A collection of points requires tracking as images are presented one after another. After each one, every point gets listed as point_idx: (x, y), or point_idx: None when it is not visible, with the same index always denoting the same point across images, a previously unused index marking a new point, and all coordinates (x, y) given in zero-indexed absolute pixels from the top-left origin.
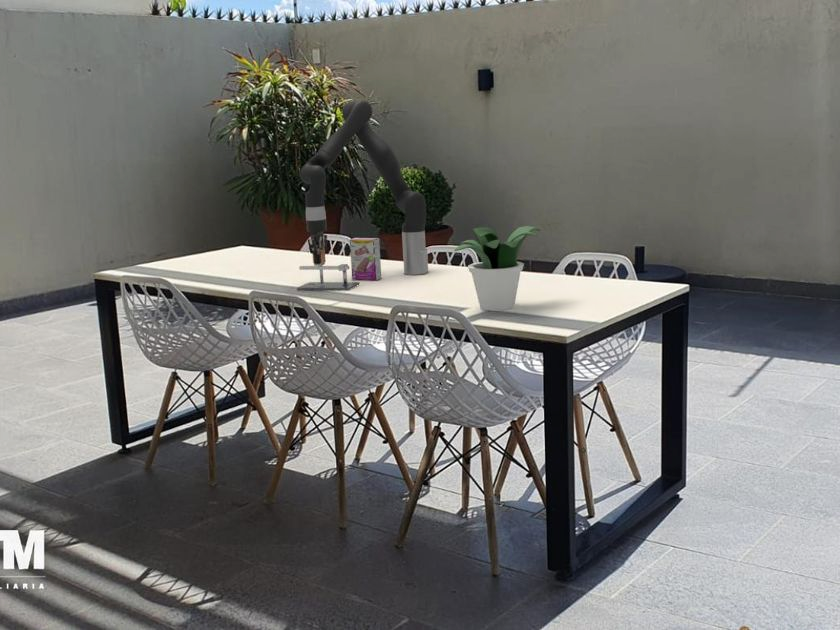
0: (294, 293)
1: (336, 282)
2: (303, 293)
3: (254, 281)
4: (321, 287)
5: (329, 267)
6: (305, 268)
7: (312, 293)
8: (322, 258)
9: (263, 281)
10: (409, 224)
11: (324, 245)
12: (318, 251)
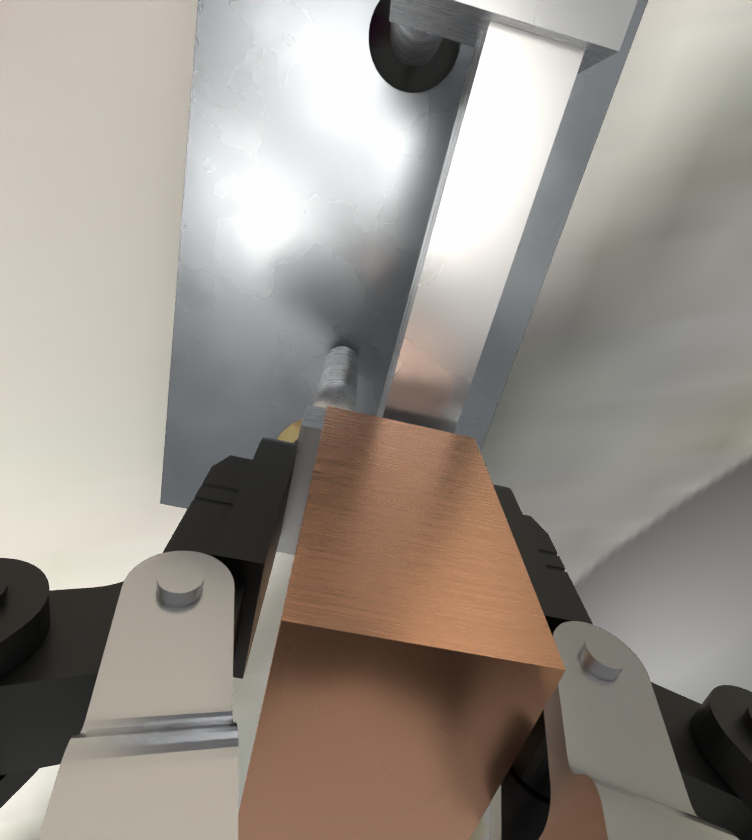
0: (579, 539)
1: (202, 210)
2: (611, 471)
3: (27, 825)
4: (503, 340)
5: (502, 281)
6: None
7: (648, 394)
8: (488, 486)
9: (24, 788)
10: None
11: (133, 758)
12: (638, 707)
